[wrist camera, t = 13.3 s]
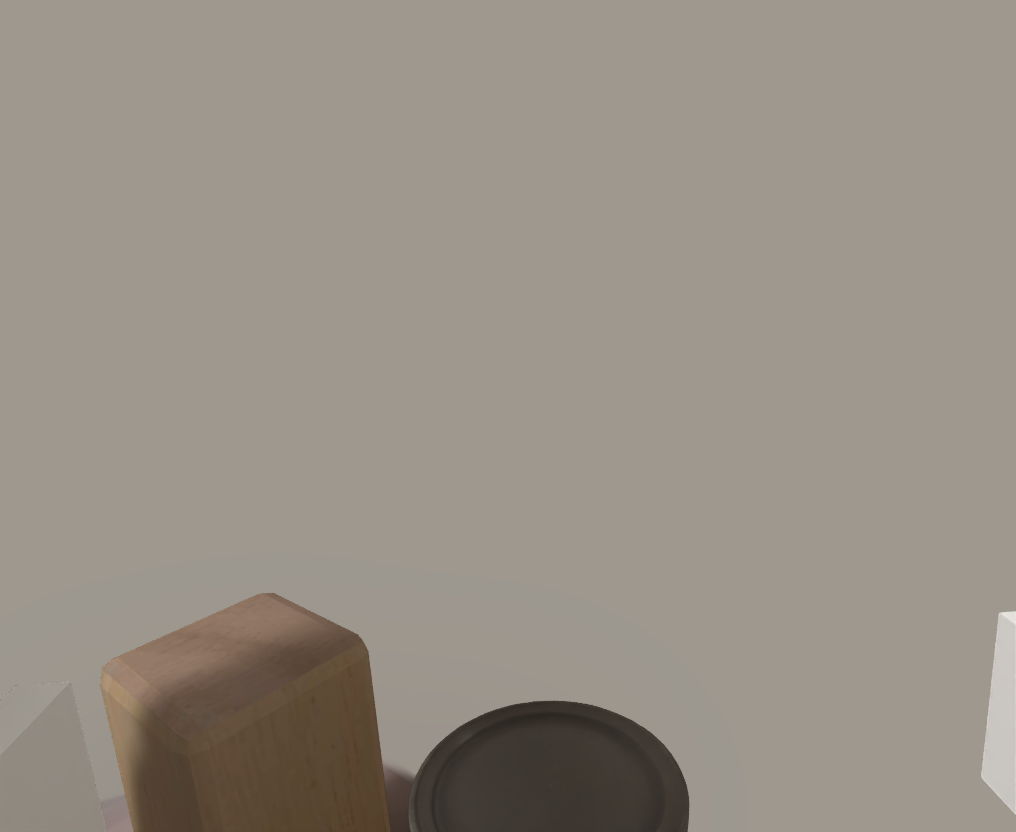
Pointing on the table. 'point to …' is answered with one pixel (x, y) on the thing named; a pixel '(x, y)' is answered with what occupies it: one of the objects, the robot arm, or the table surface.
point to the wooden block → (249, 725)
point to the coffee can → (549, 775)
